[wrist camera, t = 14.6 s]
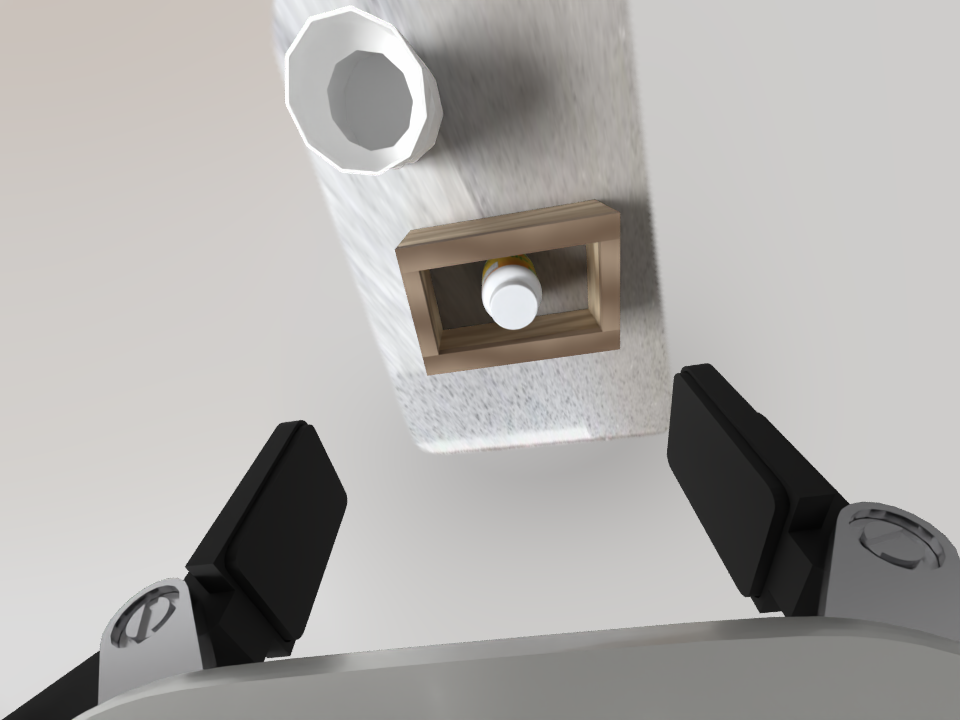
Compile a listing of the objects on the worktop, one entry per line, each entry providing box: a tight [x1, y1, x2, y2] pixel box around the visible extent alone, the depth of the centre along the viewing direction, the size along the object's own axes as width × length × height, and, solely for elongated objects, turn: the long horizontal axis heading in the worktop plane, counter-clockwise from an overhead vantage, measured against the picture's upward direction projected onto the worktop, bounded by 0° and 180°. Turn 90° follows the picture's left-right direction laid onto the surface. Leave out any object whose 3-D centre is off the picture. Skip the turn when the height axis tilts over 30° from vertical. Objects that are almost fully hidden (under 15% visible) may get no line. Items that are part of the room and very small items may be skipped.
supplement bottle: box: [482, 254, 542, 330], centre depth 38 cm, size 5×5×10 cm
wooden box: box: [395, 200, 620, 376], centre depth 38 cm, size 12×18×8 cm, turn 99°
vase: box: [285, 5, 443, 176], centre depth 30 cm, size 9×9×12 cm
